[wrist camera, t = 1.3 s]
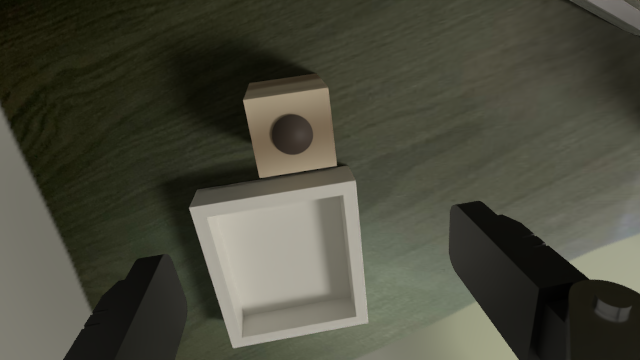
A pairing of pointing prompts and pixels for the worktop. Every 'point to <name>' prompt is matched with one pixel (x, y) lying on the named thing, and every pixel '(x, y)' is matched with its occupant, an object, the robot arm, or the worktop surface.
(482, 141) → the worktop surface
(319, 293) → the tray
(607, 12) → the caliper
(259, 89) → the block
